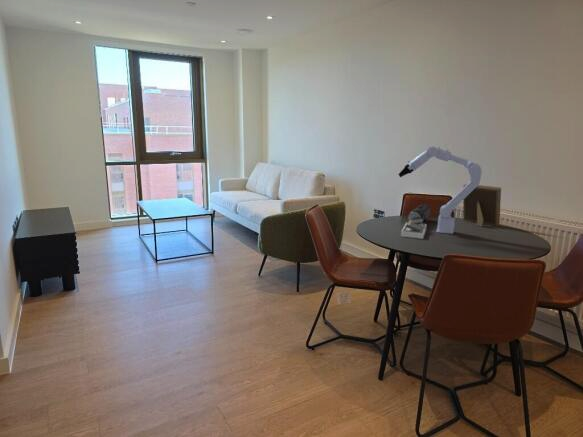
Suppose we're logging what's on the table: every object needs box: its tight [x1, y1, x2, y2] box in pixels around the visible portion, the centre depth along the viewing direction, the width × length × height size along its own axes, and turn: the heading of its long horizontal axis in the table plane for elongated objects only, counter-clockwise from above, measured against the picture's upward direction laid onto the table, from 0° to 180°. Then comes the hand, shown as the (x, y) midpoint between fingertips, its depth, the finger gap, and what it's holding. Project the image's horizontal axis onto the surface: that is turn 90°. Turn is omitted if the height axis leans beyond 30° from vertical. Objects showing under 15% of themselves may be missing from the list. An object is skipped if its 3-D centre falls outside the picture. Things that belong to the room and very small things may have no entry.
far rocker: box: [409, 219, 424, 225], centre depth 237 cm, size 8×9×2 cm
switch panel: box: [400, 221, 427, 240], centre depth 233 cm, size 12×24×4 cm, turn 158°
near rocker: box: [406, 220, 422, 232], centre depth 227 cm, size 8×9×2 cm
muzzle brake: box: [407, 204, 431, 222], centre depth 258 cm, size 10×28×10 cm, turn 151°
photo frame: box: [462, 183, 502, 228], centre depth 256 cm, size 15×22×25 cm
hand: (400, 175), depth 240 cm, fingers open, 7 cm apart
